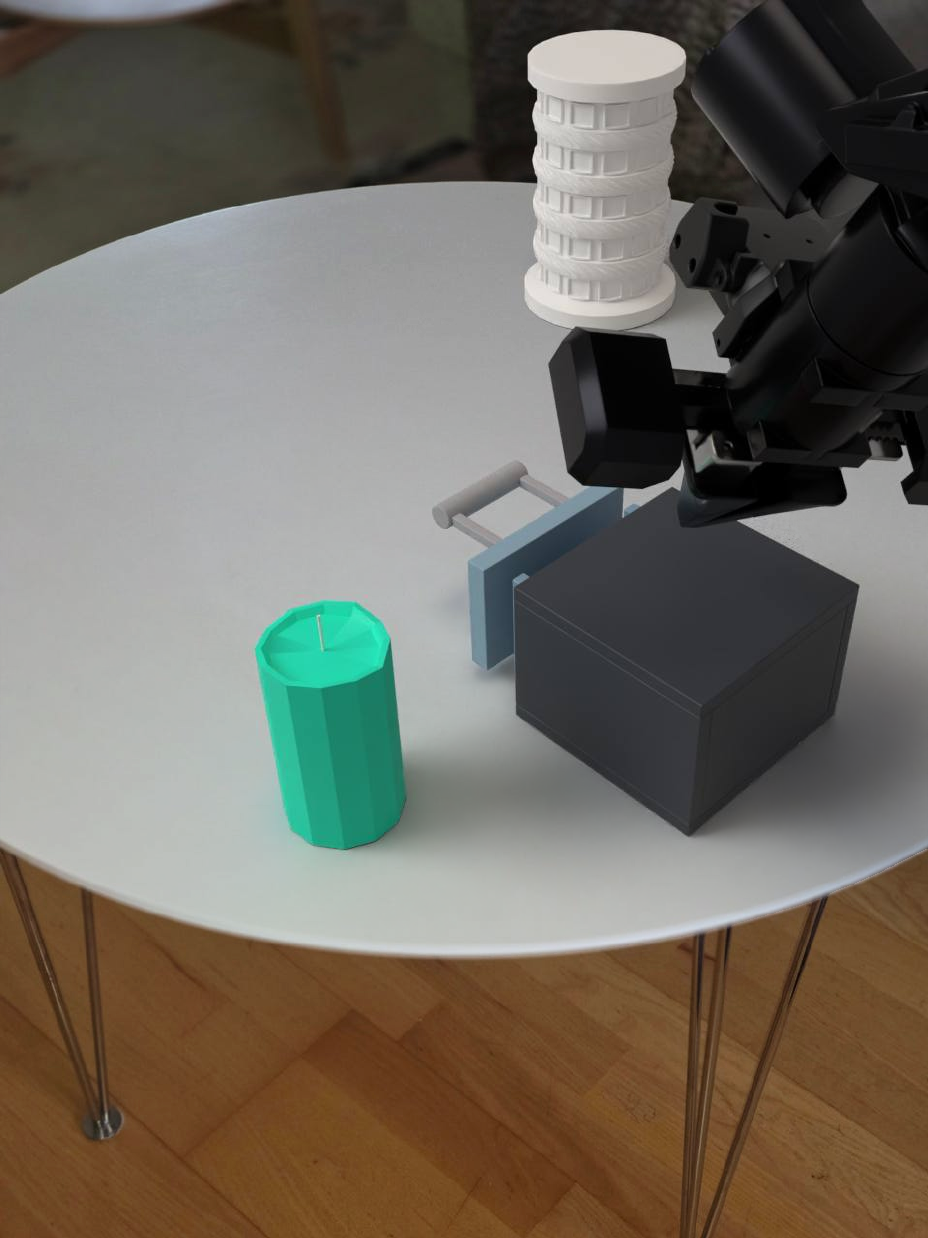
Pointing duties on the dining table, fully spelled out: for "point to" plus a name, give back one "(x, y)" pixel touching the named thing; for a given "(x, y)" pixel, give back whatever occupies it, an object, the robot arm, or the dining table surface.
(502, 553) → the drawer
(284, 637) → the candle
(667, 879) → the dining table surface
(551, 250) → the decorative container
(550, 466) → the dining table surface
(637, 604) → the dark grey box
